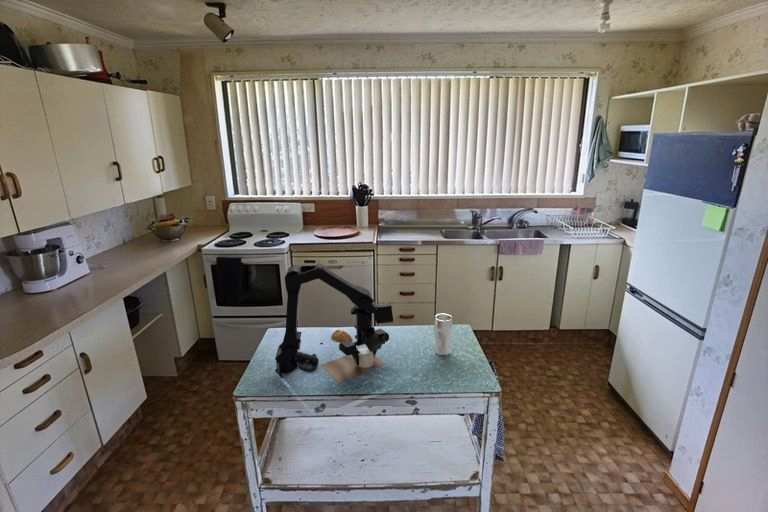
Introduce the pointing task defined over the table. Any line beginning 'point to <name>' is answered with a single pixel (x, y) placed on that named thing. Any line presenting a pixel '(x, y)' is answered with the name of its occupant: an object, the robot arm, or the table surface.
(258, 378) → the table surface
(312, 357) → the can opener
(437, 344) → the white cylindrical vase
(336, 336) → the pastry
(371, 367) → the board
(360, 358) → the cap
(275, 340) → the table surface
